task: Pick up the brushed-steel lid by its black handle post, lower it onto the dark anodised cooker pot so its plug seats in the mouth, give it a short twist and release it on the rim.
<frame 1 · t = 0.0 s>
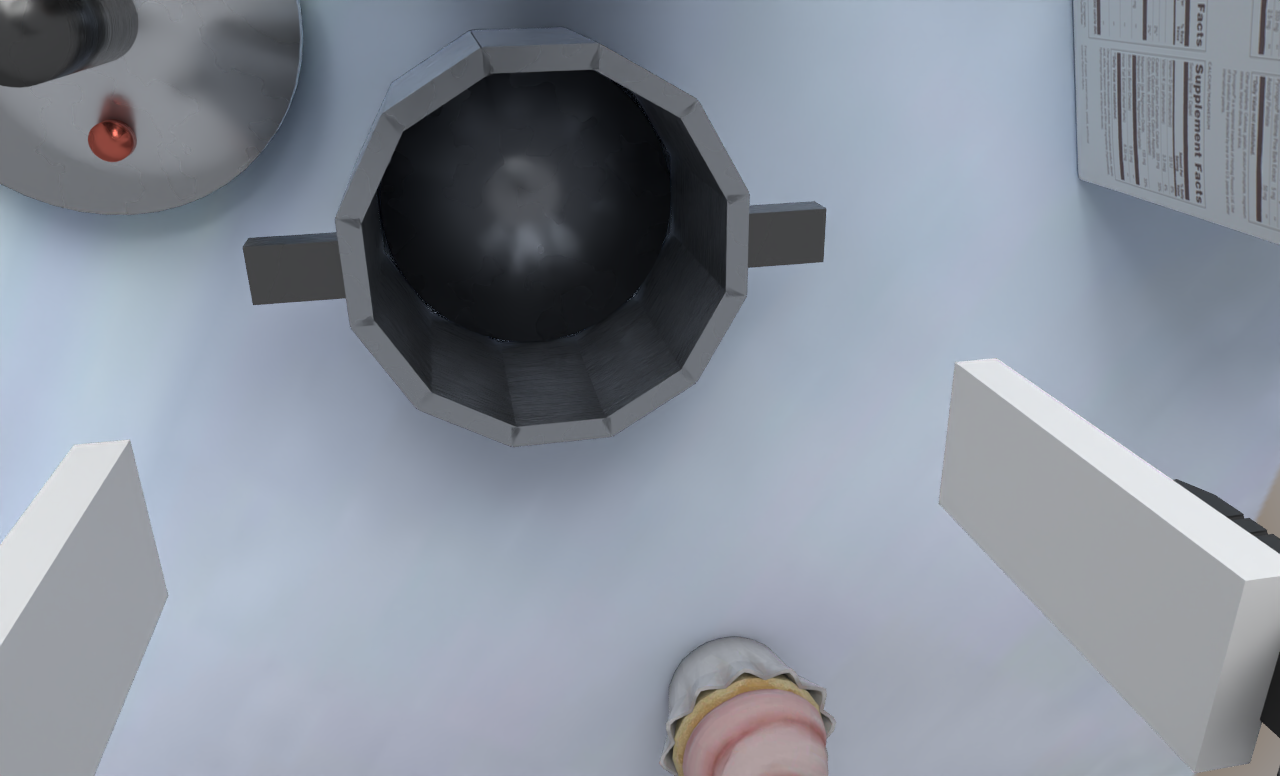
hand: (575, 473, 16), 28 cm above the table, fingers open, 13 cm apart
pot: (528, 202, 42), on the table
lid: (109, 12, 37), on the table
supplement box: (1201, 6, 45), on the table
cupcake: (722, 677, 55), on the table
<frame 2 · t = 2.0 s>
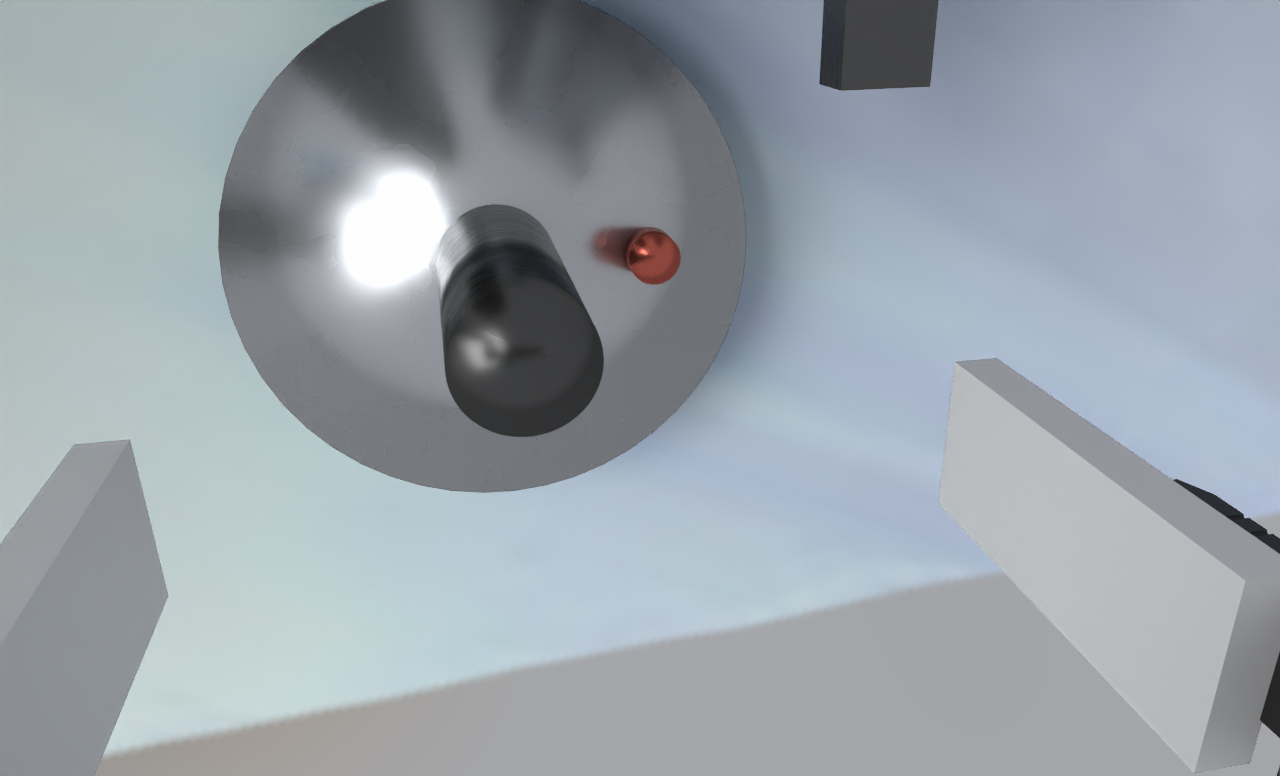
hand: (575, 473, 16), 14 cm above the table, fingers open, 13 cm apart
lid: (490, 239, 29), on the table
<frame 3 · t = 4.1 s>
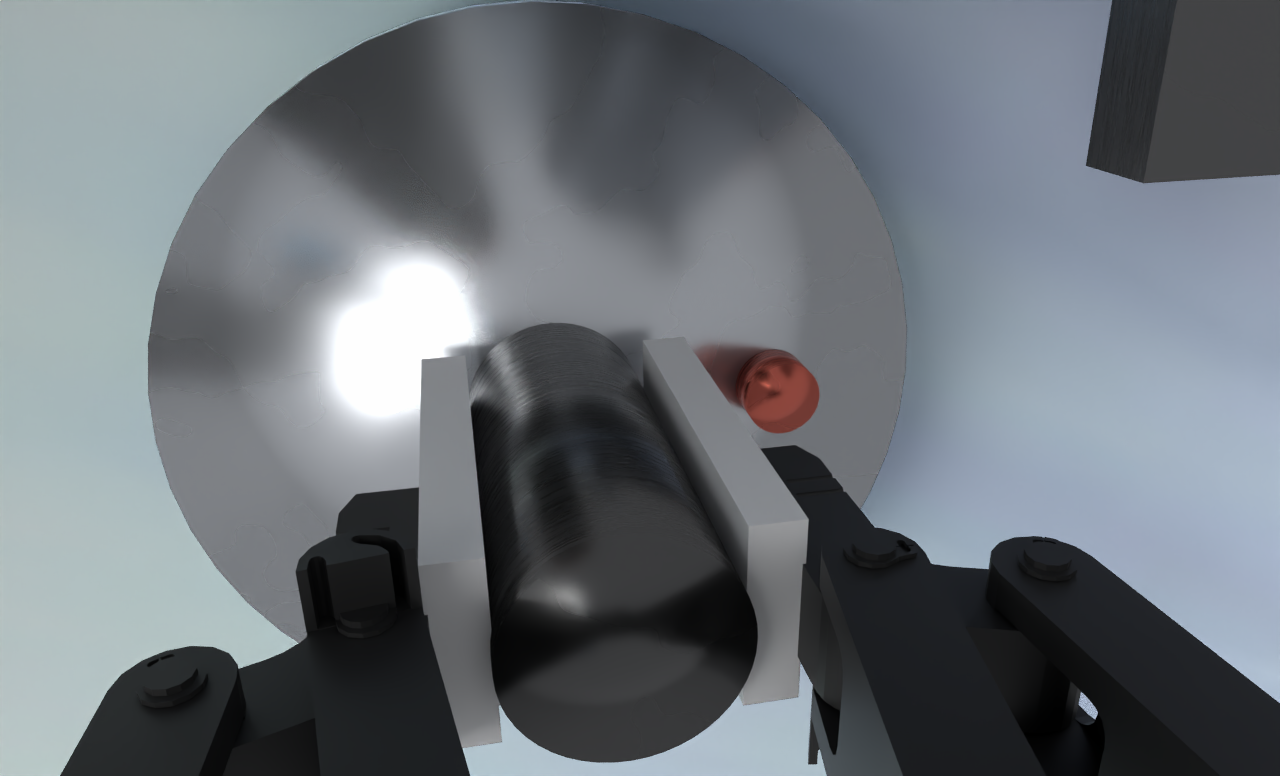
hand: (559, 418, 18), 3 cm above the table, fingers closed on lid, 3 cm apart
lid: (541, 356, 21), on the table, touching gripper
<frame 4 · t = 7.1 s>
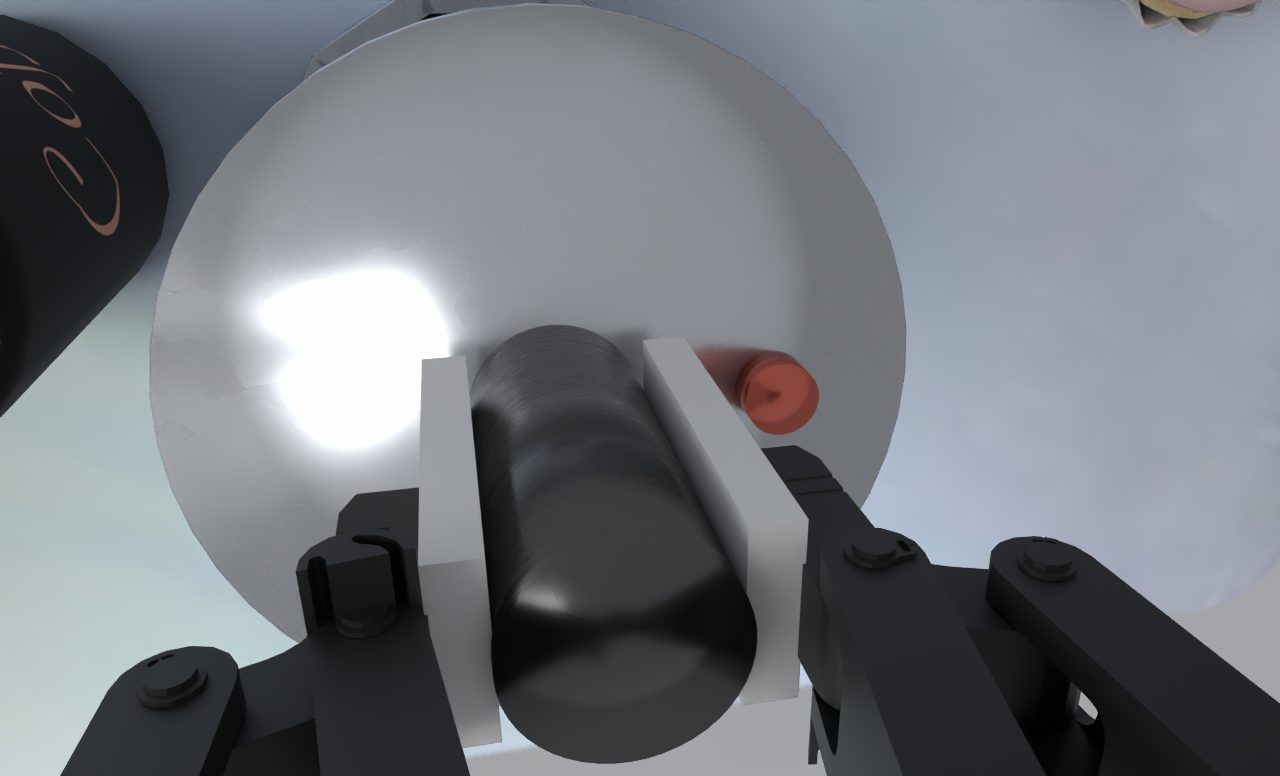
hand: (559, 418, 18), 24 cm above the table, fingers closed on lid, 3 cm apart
coffee jar: (23, 163, 37), on the table
pot: (486, 167, 40), on the table
lid: (541, 357, 21), point 21 cm above the table, touching gripper
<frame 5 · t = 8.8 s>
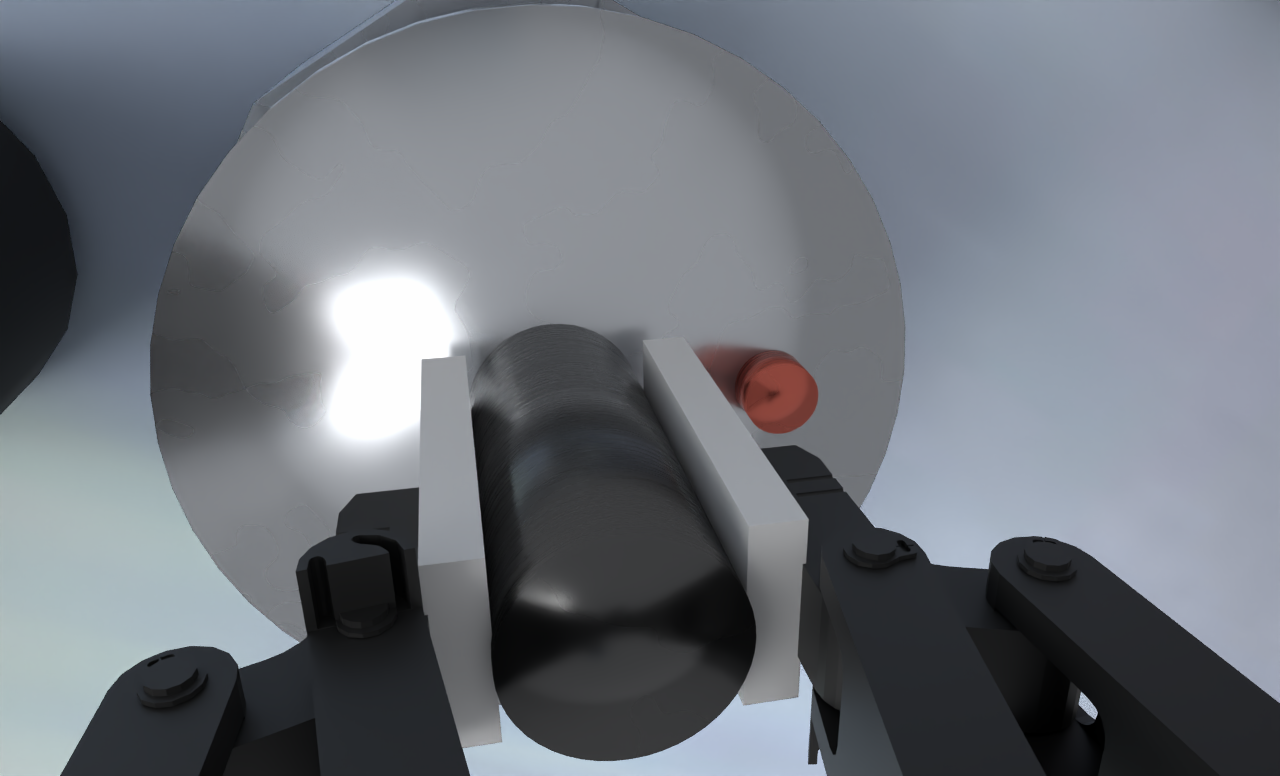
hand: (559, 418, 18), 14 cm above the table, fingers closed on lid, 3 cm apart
pot: (500, 230, 31), on the table
lid: (541, 357, 21), point 11 cm above the table, touching gripper
when the fingers open (11 cm above the table, at t = 10.0 s): lid stays where it is, resting on pot.
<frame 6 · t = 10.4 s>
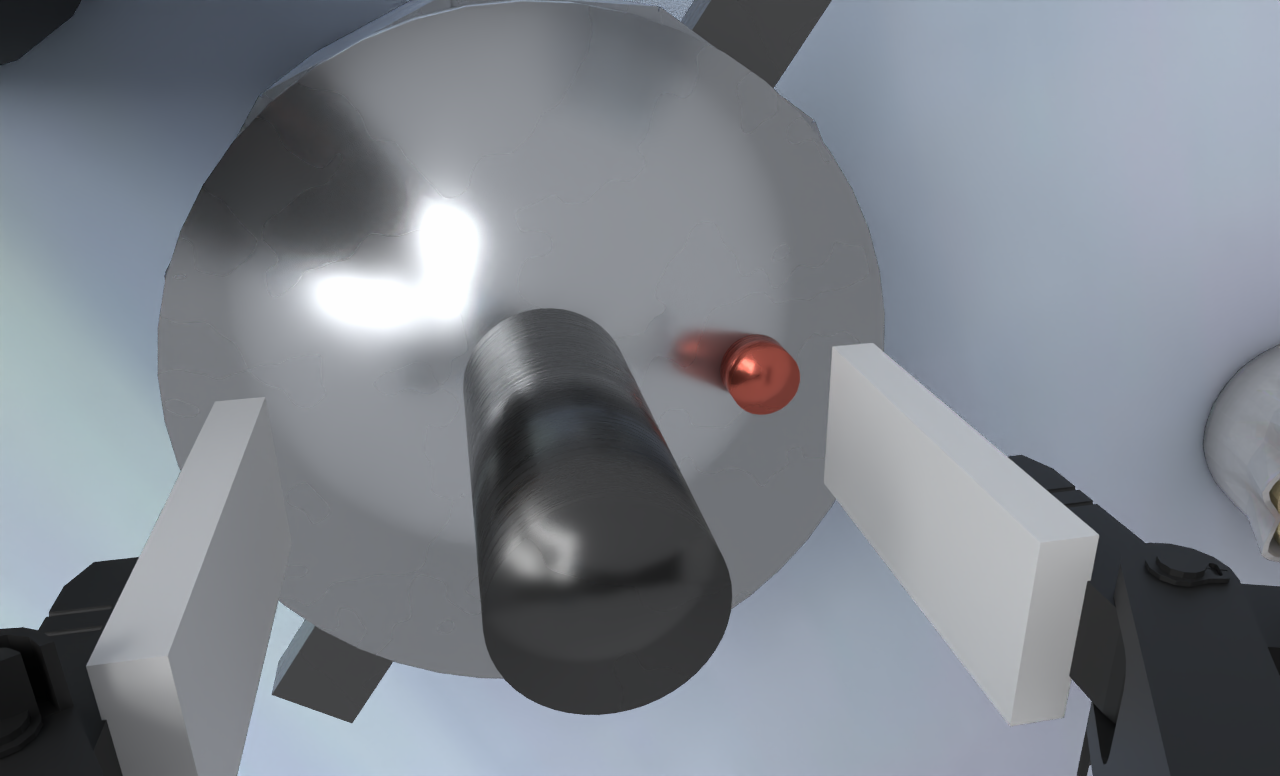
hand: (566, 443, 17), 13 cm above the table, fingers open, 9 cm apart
pot: (510, 251, 28), on the table
lid: (534, 342, 22), point 7 cm above the table, touching pot
cupcake: (1270, 414, 36), on the table
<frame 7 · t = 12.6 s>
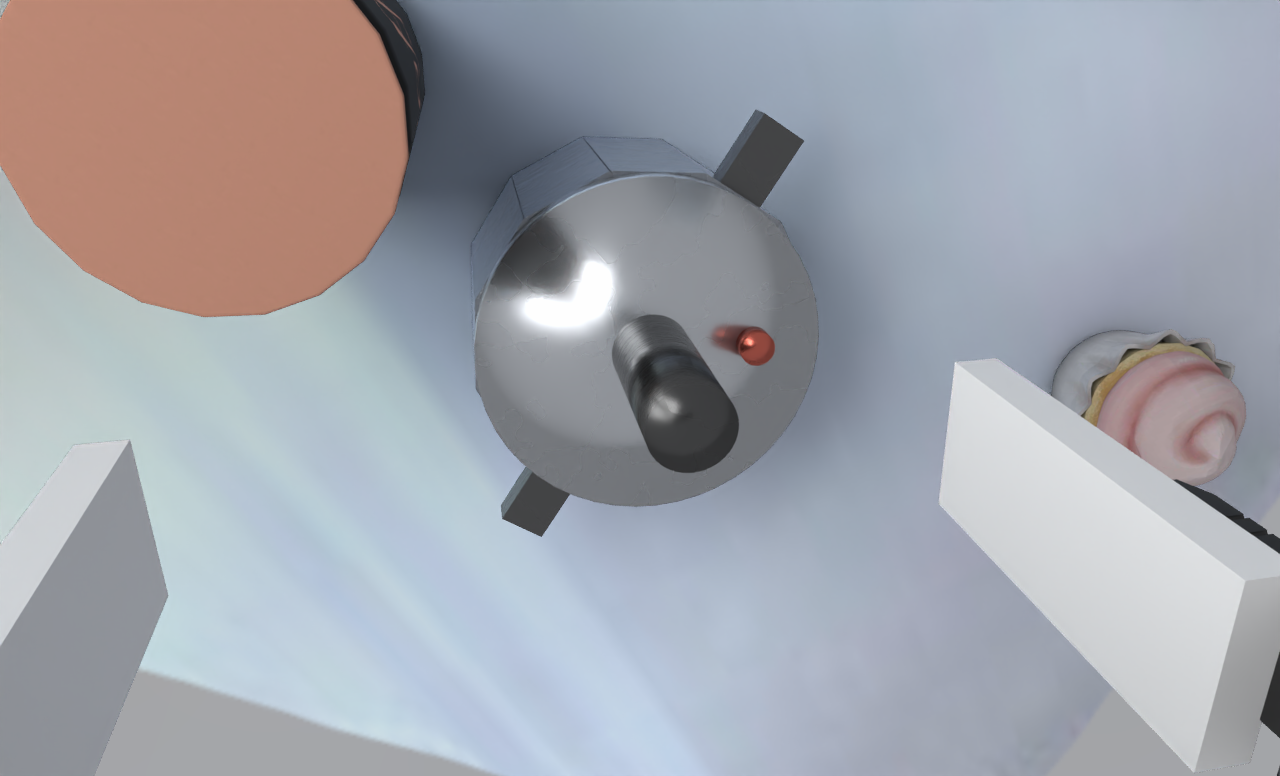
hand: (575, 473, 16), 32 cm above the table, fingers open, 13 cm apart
coffee jar: (300, 71, 43), on the table
pot: (615, 282, 49), on the table
lid: (640, 332, 42), point 7 cm above the table, touching pot
cupcake: (1096, 379, 56), on the table
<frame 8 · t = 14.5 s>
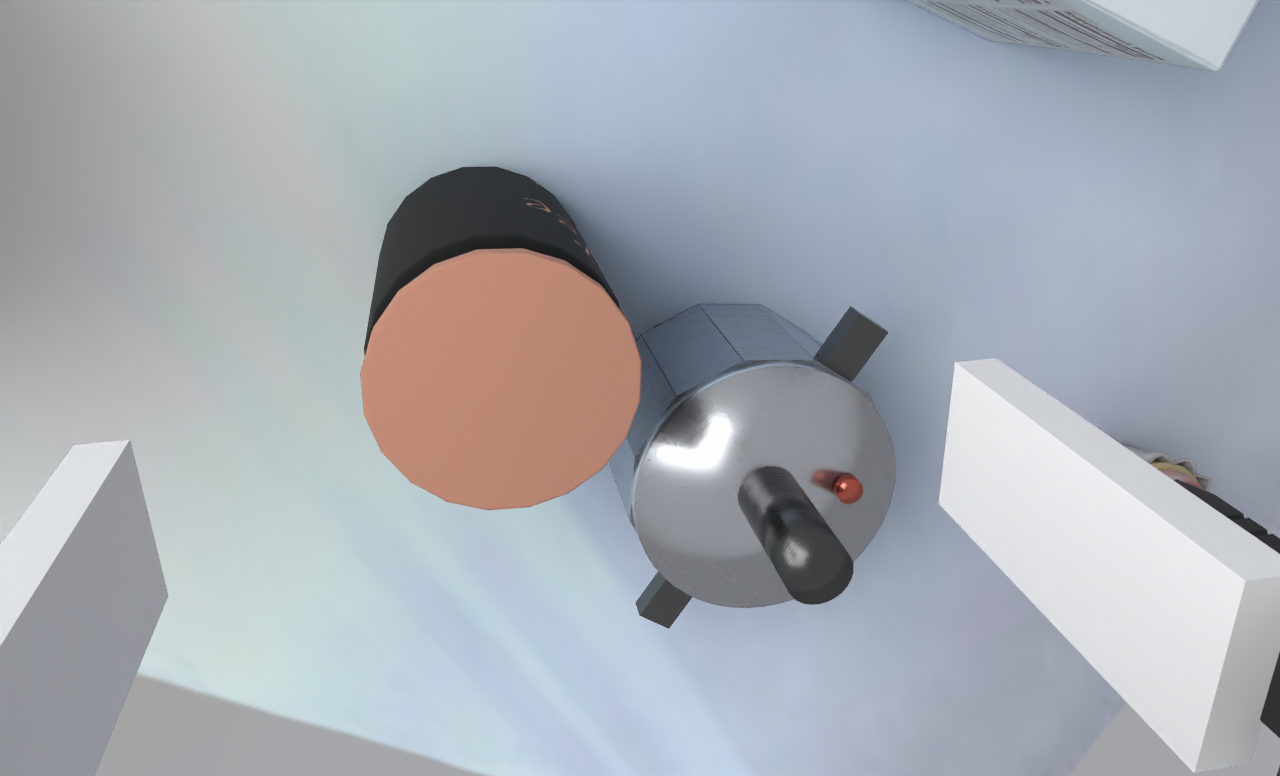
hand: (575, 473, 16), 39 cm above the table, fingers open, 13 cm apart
coffee jar: (481, 259, 54), on the table
pot: (717, 414, 60), on the table
lid: (753, 471, 53), point 7 cm above the table, touching pot
cupcake: (1098, 481, 68), on the table
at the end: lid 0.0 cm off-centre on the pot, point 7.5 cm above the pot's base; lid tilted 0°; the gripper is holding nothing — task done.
